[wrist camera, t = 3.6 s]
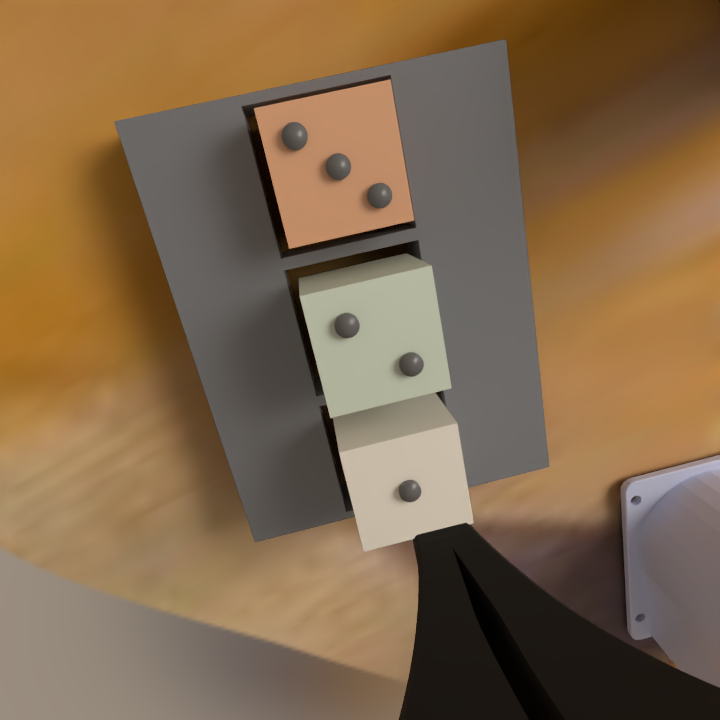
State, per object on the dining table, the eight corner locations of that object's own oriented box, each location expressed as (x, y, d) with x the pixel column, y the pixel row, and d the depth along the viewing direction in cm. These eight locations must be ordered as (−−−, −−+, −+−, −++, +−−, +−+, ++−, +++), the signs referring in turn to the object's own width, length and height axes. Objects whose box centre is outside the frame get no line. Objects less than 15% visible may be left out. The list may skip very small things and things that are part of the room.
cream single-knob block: (445, 471, 20) (475, 526, 17) (352, 495, 20) (364, 555, 17) (430, 385, 19) (459, 425, 16) (331, 409, 19) (339, 455, 16)
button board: (527, 443, 22) (549, 466, 20) (258, 512, 22) (254, 542, 20) (483, 56, 17) (506, 39, 16) (134, 130, 17) (114, 121, 15)
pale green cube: (424, 355, 19) (453, 390, 15) (324, 380, 19) (330, 420, 15) (406, 253, 18) (433, 266, 14) (298, 278, 17) (299, 297, 14)
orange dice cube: (393, 216, 18) (415, 220, 15) (290, 240, 18) (288, 249, 15) (372, 101, 17) (391, 77, 14) (261, 125, 17) (253, 106, 13)
